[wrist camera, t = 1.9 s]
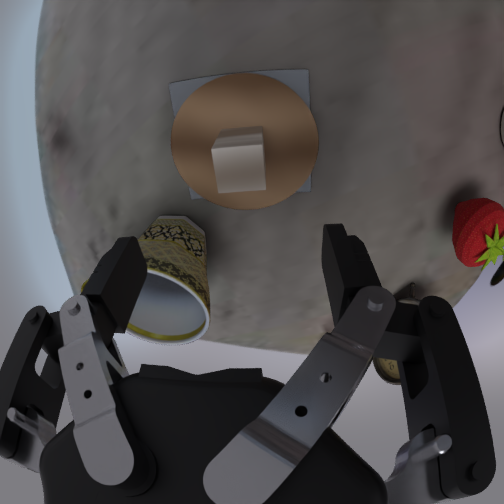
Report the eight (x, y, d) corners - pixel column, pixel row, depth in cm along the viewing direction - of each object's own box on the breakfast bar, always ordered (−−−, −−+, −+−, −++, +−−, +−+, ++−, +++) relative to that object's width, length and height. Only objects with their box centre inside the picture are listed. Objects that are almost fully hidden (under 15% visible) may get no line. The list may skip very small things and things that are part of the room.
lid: (162, 85, 19) (133, 96, 15) (314, 69, 18) (332, 74, 14) (188, 209, 27) (172, 248, 22) (315, 200, 26) (327, 239, 21)
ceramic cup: (221, 199, 27) (204, 272, 19) (224, 276, 33) (214, 350, 25) (101, 199, 27) (53, 261, 19) (122, 269, 33) (93, 334, 25)
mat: (170, 83, 20) (168, 83, 19) (307, 69, 19) (308, 69, 18) (192, 196, 27) (191, 199, 26) (309, 188, 26) (310, 191, 25)
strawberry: (423, 222, 27) (465, 287, 20) (458, 167, 23) (516, 221, 15) (453, 238, 28) (492, 298, 21) (486, 190, 24) (536, 243, 16)
